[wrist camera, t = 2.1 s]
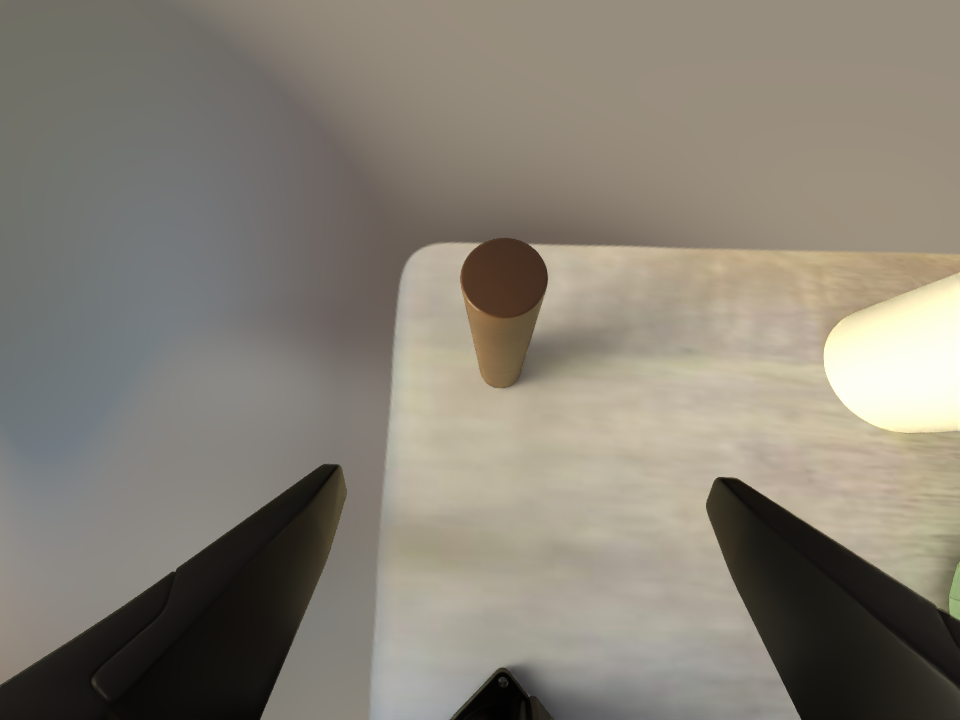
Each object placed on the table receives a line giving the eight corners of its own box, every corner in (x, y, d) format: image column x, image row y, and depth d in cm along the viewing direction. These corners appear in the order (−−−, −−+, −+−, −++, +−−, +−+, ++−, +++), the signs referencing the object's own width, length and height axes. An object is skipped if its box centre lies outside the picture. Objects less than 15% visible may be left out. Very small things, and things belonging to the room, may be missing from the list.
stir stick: (499, 396, 25) (501, 335, 11) (471, 366, 26) (442, 274, 12) (529, 369, 25) (566, 277, 12) (501, 340, 26) (505, 221, 12)
